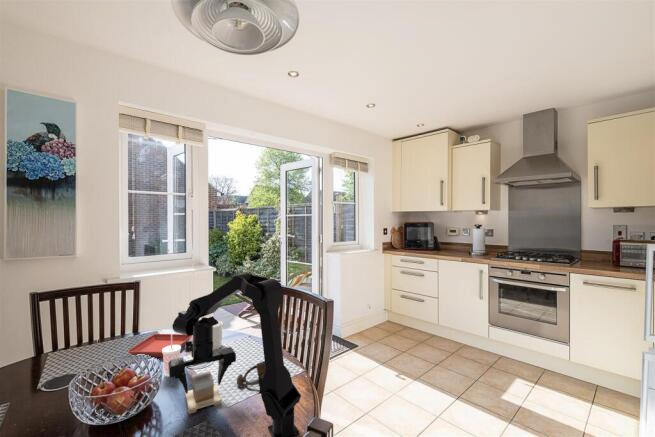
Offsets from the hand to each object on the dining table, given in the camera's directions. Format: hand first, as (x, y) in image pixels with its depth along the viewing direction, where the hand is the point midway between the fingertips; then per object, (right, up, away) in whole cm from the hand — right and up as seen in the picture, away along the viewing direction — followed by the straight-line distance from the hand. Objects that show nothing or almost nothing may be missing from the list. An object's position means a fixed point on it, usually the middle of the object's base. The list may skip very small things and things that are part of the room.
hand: (203, 388), depth 93 cm
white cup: (-11, -3, +38) cm, 39 cm away
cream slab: (0, -4, 0) cm, 4 cm away
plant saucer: (-32, -4, +36) cm, 48 cm away
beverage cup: (-18, -4, +16) cm, 24 cm away
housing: (0, -2, 0) cm, 2 cm away
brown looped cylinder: (+14, -4, +11) cm, 18 cm away
